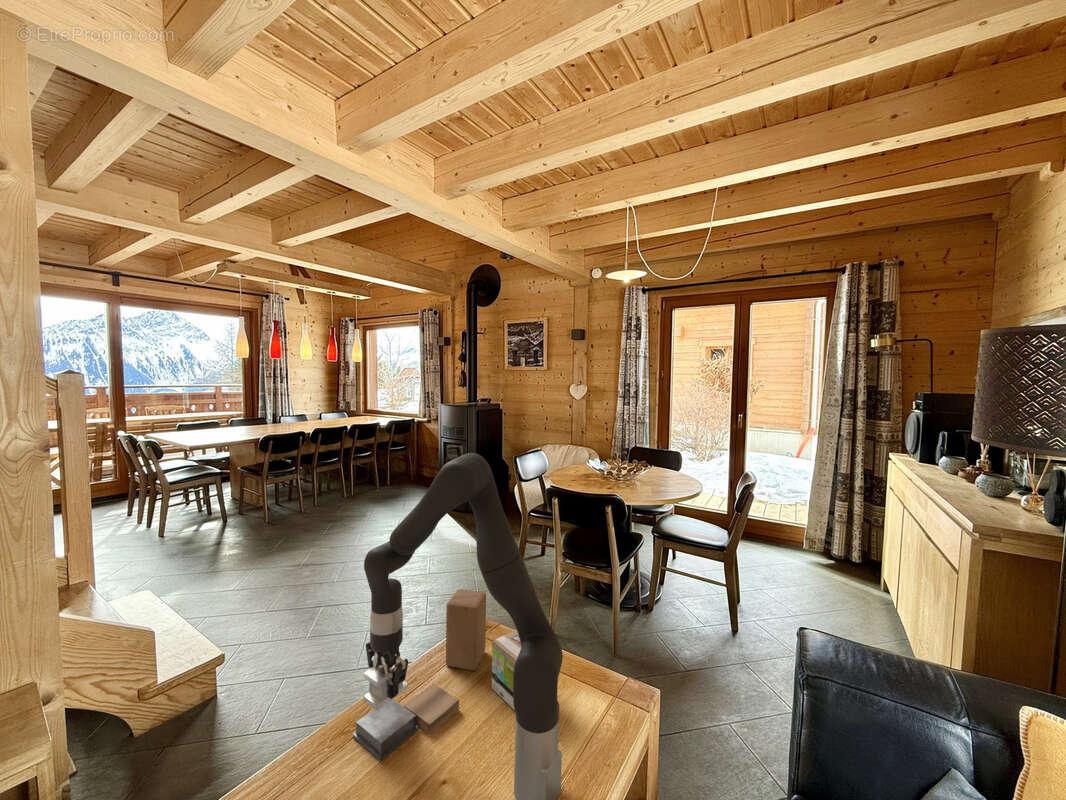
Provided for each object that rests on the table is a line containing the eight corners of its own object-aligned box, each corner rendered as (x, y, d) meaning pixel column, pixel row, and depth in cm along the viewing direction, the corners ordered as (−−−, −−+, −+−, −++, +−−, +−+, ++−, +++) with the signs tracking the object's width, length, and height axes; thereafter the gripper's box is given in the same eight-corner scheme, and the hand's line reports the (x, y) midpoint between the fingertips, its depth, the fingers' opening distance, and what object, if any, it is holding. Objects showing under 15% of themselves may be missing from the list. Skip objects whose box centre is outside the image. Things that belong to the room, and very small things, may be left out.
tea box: (490, 689, 122) (491, 639, 121) (517, 673, 128) (518, 626, 127) (524, 722, 110) (525, 667, 110) (552, 703, 117) (553, 651, 116)
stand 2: (458, 710, 114) (459, 699, 114) (429, 736, 106) (429, 724, 105) (433, 693, 120) (433, 683, 119) (403, 716, 111) (403, 705, 111)
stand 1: (418, 730, 107) (418, 715, 107) (380, 762, 98) (380, 745, 98) (391, 709, 114) (391, 695, 113) (353, 737, 105) (352, 722, 104)
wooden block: (475, 672, 128) (476, 607, 127) (444, 667, 130) (445, 603, 129) (486, 651, 138) (487, 591, 137) (456, 646, 140) (457, 587, 139)
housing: (376, 710, 100) (376, 682, 100) (363, 700, 103) (363, 672, 103) (407, 688, 108) (408, 661, 107) (395, 679, 110) (395, 653, 110)
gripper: (355, 621, 105) (355, 687, 106) (392, 643, 97) (391, 715, 98) (381, 607, 111) (381, 670, 112) (418, 628, 103) (417, 695, 104)
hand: (386, 690), depth 105 cm, fingers closed on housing, 5 cm apart
